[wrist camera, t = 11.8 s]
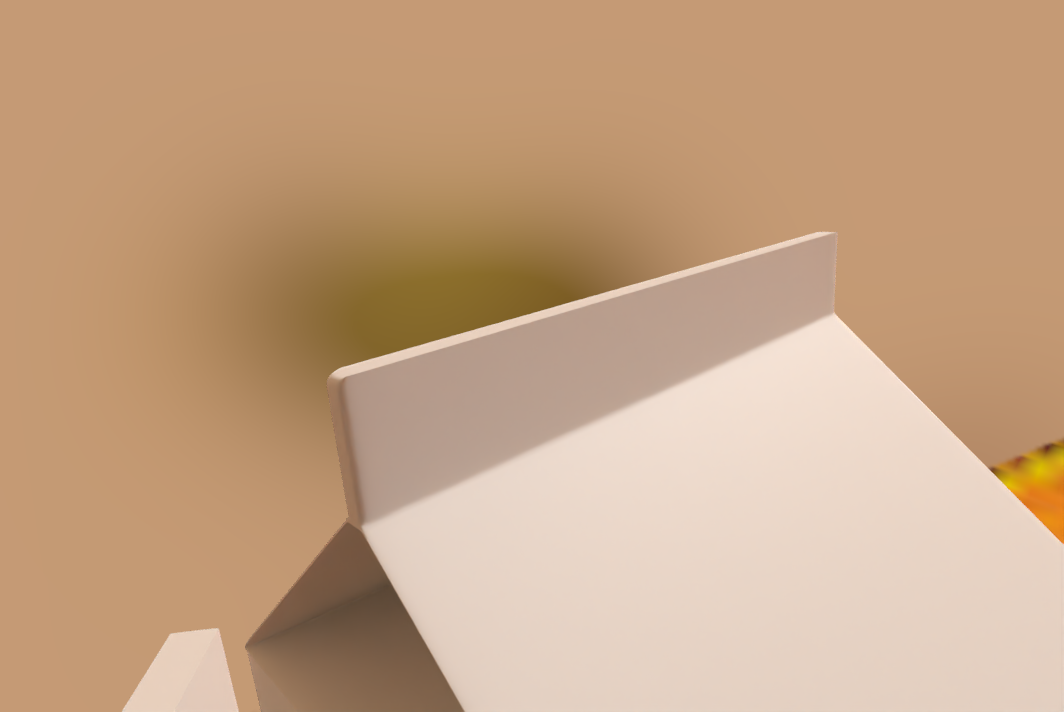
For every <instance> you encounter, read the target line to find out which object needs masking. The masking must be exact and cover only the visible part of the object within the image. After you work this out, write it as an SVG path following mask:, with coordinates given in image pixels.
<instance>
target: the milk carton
mask: <svg viewBox="0 0 1064 712" xmlns="http://www.w3.org/2000/svg"><path fill="white" fill-rule="evenodd" d="M836 253H837V232H817V233H813V234H809V235H806V236H802V237H799V238H795V239H792V240H788V241H785V242H781V243H778V244H774V245H771V246H767V247H764V248H760V249H757V250H753V251H750V252H747V253H743V254H739V255H736V256H733V257H729V258H725V259H722V260H718V261H715V262H711V263H708V264H704V265H700V266H697V267H693V268H690V269H687V270H683V271H680V272H676V273H672V274H669V275H666V276H662V277H659V278H655V279H651V280H648V281H645V282H641V283H637V284H634V285H631V286H627V287H623V288H620V289H616V290H613V291H609V292H606V293H602V294H599V295H595V296H592V297H588V298H585V299H581V300H578V301H574V302H570V303H567V304H564V305H560V306H557V307H553V308H549V309H546V310H542V311H539V312H536V313H532V314H528V315H525V316H521V317H518V318H515V319H511V320H507V321H504V322H500V323H497V324H493V325H490V326H486V327H483V328H479V329H476V330H473V331H469V332H465V333H462V334H458V335H455V336H451V337H448V338H444V339H441V340H437V341H433V342H430V343H426V344H423V345H420V346H416V347H412V348H409V349H405V350H402V351H398V352H395V353H392V354H388V355H384V356H381V357H377V358H374V359H370V360H367V361H363V362H360V363H356V364H353V365H349V366H346V367H342V368H339V369H338V370H336V371H335V372H333V373H332V374H331V375H330V376H329V378H328V380H327V391H328V397H329V403H330V409H331V415H332V421H333V426H334V432H335V438H336V444H337V450H338V456H339V462H340V468H341V473H342V480H343V486H344V492H345V497H346V503H347V509H348V514H349V517H348V518H347V519H346V521H345V522H344V523H343V525H342V526H341V527H340V528H339V529H338V531H337V532H336V533H335V534H334V536H333V537H332V538H331V539H330V540H329V542H328V543H327V544H326V545H325V547H324V548H323V549H322V550H321V552H320V553H319V554H318V555H317V556H316V558H315V559H314V560H313V561H312V562H311V564H310V565H309V566H308V567H307V569H306V570H305V571H304V572H303V574H302V575H301V576H300V577H299V578H298V580H297V581H296V582H295V583H294V585H293V586H292V587H291V588H290V589H289V591H288V592H287V593H286V595H285V596H284V597H283V598H282V599H281V601H280V602H279V603H278V604H277V606H276V607H275V608H274V609H273V610H272V612H271V613H270V614H269V615H268V617H267V618H266V619H265V620H264V621H263V623H262V624H261V625H260V626H259V628H258V629H257V630H256V631H255V632H254V634H253V635H252V636H251V637H250V639H249V640H248V642H247V643H246V646H245V648H246V650H247V652H248V656H249V661H250V665H251V670H252V674H253V678H254V683H255V687H256V691H257V696H258V700H259V705H260V709H261V712H1064V545H1063V544H1062V543H1061V542H1060V541H1059V540H1058V539H1057V538H1056V537H1055V536H1054V535H1053V534H1052V533H1051V532H1050V531H1049V530H1048V529H1047V528H1046V527H1045V526H1044V525H1043V524H1042V523H1041V522H1040V521H1039V520H1038V519H1037V518H1036V517H1035V516H1034V514H1033V513H1032V512H1031V511H1030V510H1029V509H1028V508H1027V507H1026V506H1025V505H1024V504H1023V503H1022V502H1021V501H1020V500H1019V499H1018V498H1017V497H1016V496H1015V495H1014V494H1013V493H1012V492H1011V491H1010V490H1009V489H1008V488H1007V487H1006V486H1005V485H1004V484H1003V483H1002V482H1001V481H1000V480H999V479H998V478H997V477H996V476H995V475H994V474H993V473H992V472H991V471H990V470H989V469H988V468H987V467H986V466H985V465H984V464H983V463H982V462H981V461H980V460H979V459H978V458H977V457H976V456H975V455H974V454H973V453H972V452H971V451H970V450H969V449H968V448H967V447H966V446H965V445H964V444H963V443H962V442H961V441H960V440H959V439H958V438H957V437H956V436H955V435H954V434H953V433H952V432H951V431H950V430H949V429H948V428H947V427H946V426H945V425H944V424H943V423H942V422H941V421H940V420H939V419H938V418H937V417H936V416H935V415H934V414H933V413H932V412H931V411H930V410H929V409H928V408H927V407H926V405H925V404H924V403H923V402H922V401H921V400H920V399H919V398H917V397H916V395H915V394H914V393H913V392H912V391H911V390H910V389H909V388H908V387H907V386H906V385H905V384H904V383H903V382H902V381H901V380H900V379H899V378H898V377H897V376H896V375H895V374H894V373H893V372H892V371H891V370H890V369H889V368H888V367H887V366H886V365H885V364H884V363H883V362H882V361H881V360H880V359H879V358H878V357H877V356H876V355H875V354H874V353H873V352H872V351H871V350H870V349H869V348H868V347H867V346H866V345H865V344H864V343H863V342H862V341H861V340H860V339H859V338H858V337H857V336H856V335H855V334H854V333H853V332H852V331H851V330H850V329H849V328H848V327H847V326H846V325H845V324H844V323H843V322H842V321H841V320H840V319H839V318H838V317H837V316H836V314H835V313H834V295H835V273H836Z"/></svg>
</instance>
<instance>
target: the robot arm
mask: <svg viewBox="0 0 1064 712" xmlns="http://www.w3.org/2000/svg"><path fill="white" fill-rule="evenodd" d="M122 712H239V711H238V707H237V703H236V699H235V695H234V690H233V686H232V682H231V678H230V674H229V670H228V666H227V662H226V657H225V653H224V649H223V645H222V641H221V636H220V632H219V629H218V628H215V629H206V630H197V631H189V632H180V633H172V634H170V635H169V637H168V639H167V640H166V642H165V643H164V645H163V647H162V648H161V650H160V652H159V653H158V655H157V656H156V658H155V660H154V661H153V663H152V664H151V666H150V667H149V669H148V671H147V672H146V674H145V676H144V677H143V679H142V680H141V682H140V683H139V685H138V687H137V688H136V690H135V691H134V693H133V695H132V696H131V698H130V699H129V701H128V703H127V704H126V706H125V707H124V709H123V711H122Z"/></svg>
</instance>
